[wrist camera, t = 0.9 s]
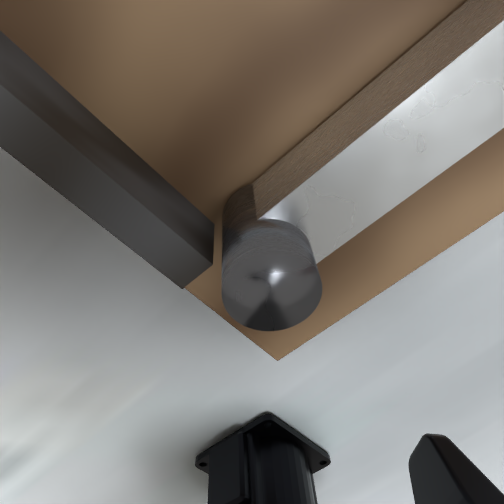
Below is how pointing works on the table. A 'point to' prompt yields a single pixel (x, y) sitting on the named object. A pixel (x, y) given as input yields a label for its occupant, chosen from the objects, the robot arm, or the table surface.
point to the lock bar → (362, 166)
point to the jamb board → (221, 128)
